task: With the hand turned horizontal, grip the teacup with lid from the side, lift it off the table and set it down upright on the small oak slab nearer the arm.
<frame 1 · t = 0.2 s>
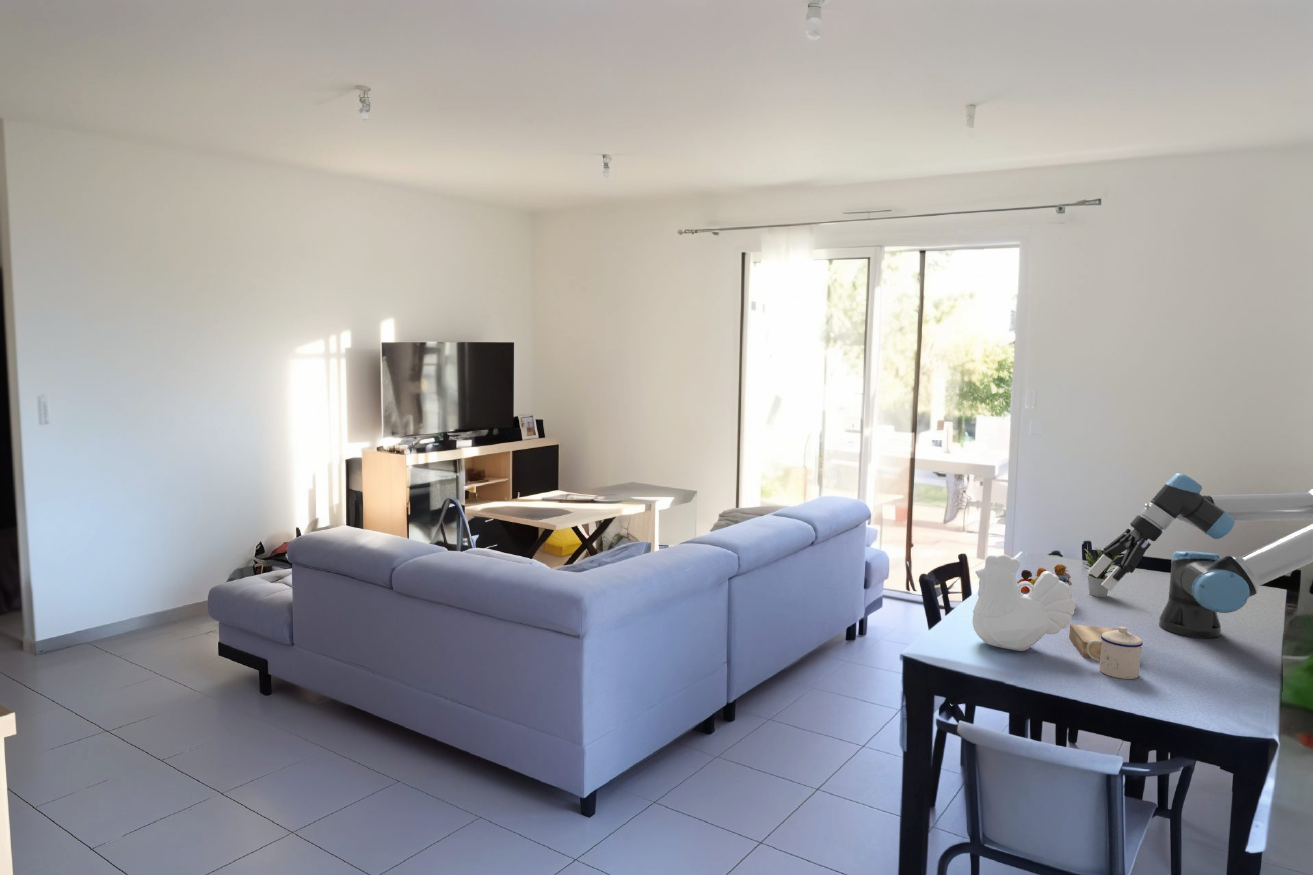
hand: (1098, 580, 240), 15 cm above the table, tool tilted 35°, fingers open, 13 cm apart
house plant: (1102, 595, 282), on the table
oak slab: (1102, 649, 229), on the table
teacup with lid: (1112, 672, 213), on the table
decorative rooster: (1020, 649, 228), on the table
doll family: (1049, 606, 269), on the table
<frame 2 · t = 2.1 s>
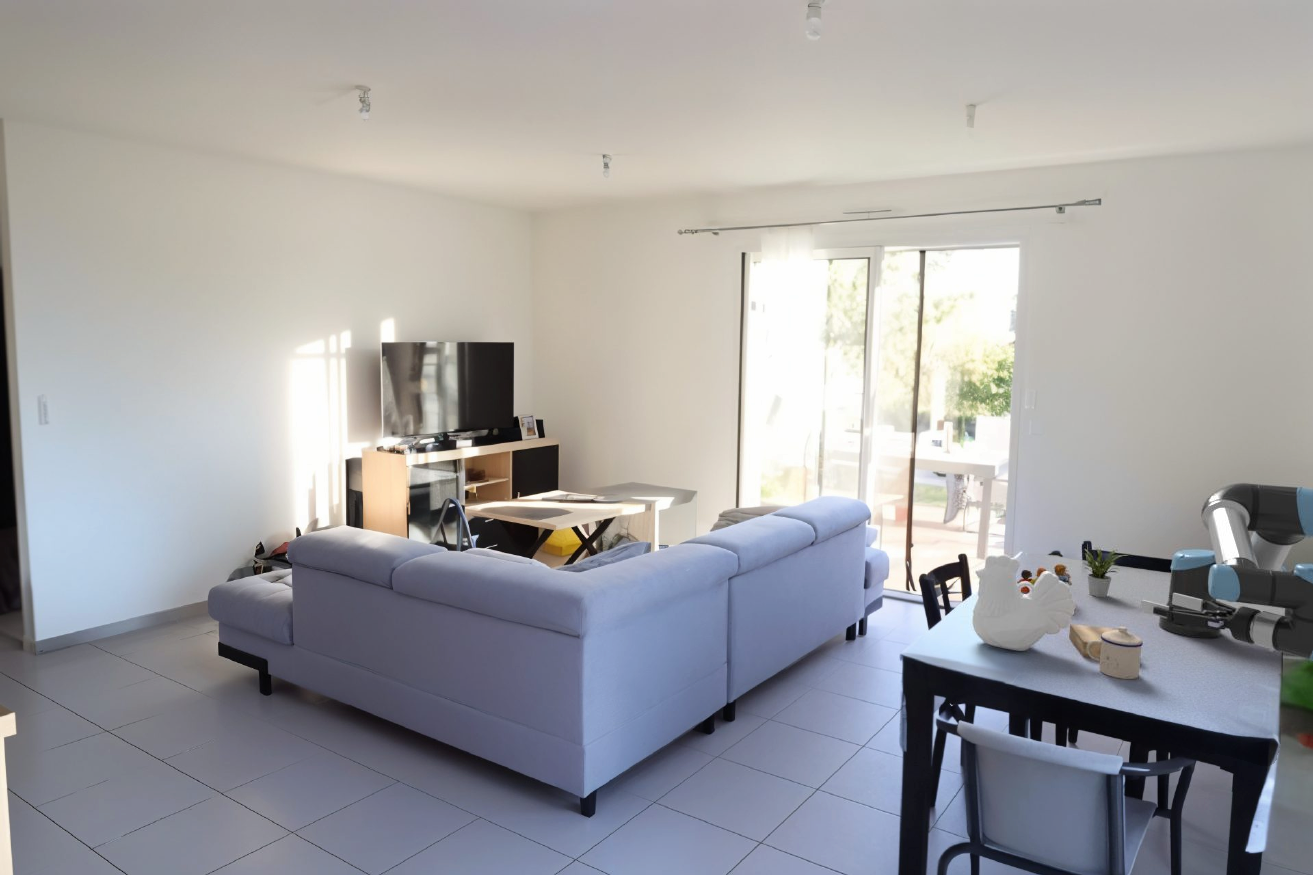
hand: (1157, 601, 203), 20 cm above the table, tool horizontal, fingers open, 13 cm apart
nothing on the table moved.
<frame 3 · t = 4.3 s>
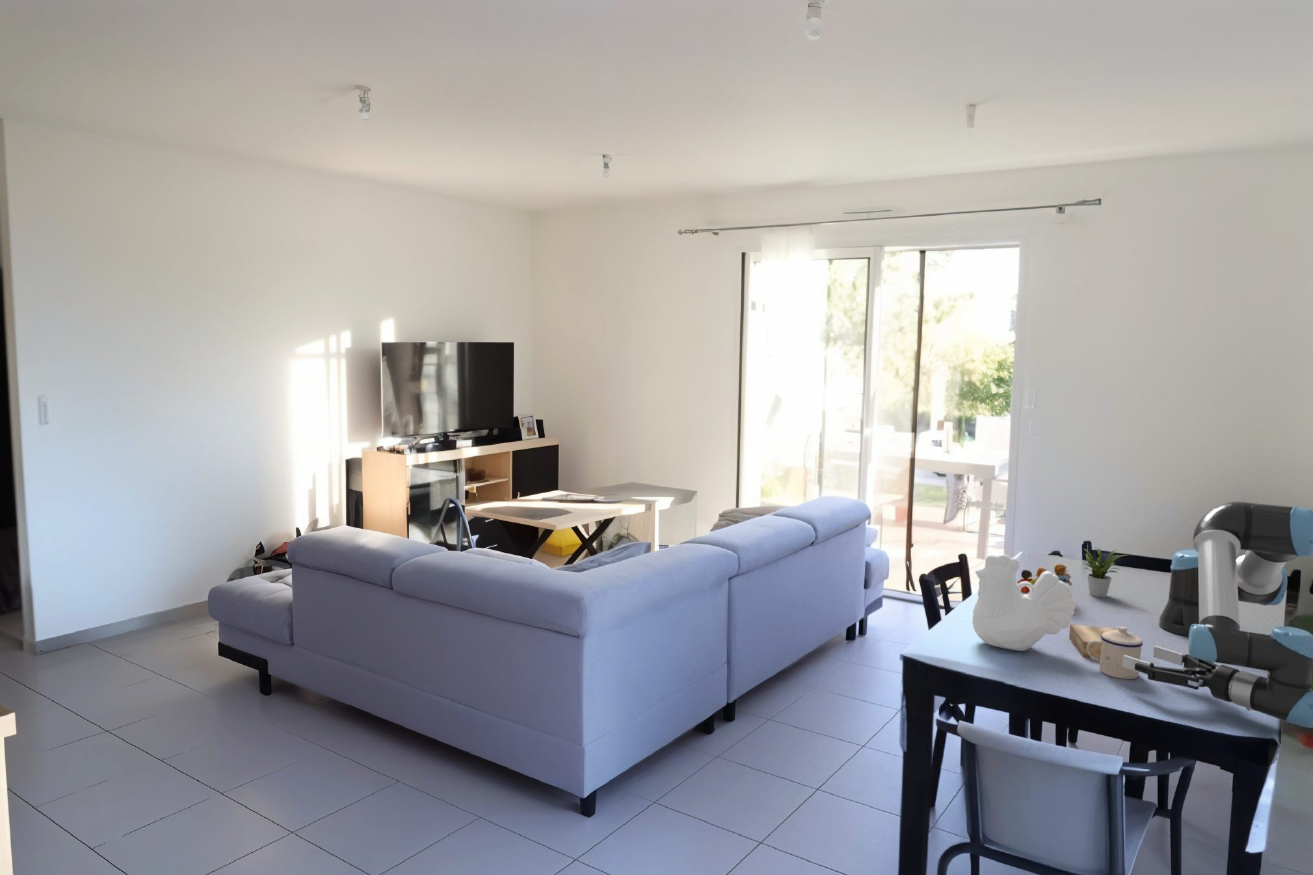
hand: (1139, 655, 206), 6 cm above the table, tool horizontal, fingers open, 13 cm apart
nothing on the table moved.
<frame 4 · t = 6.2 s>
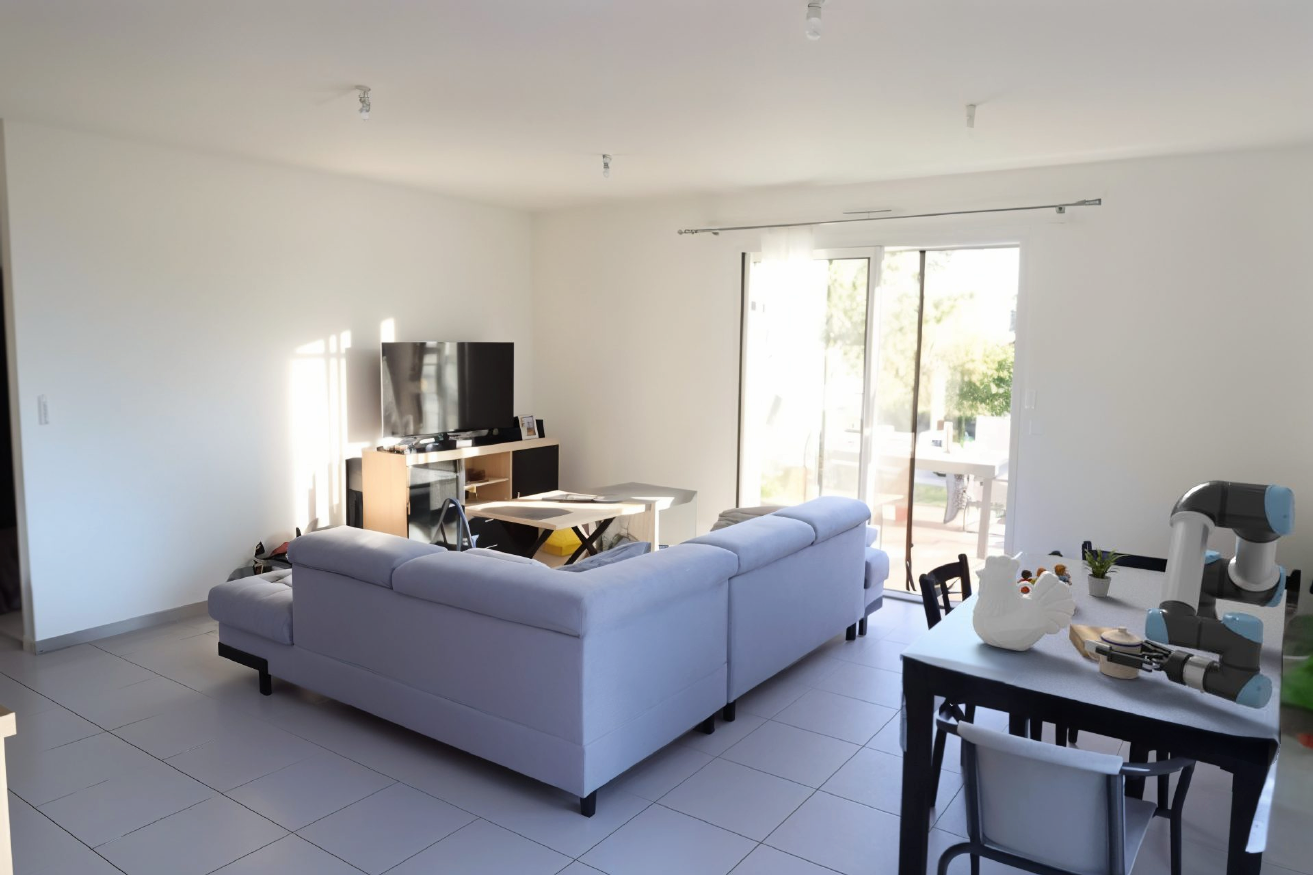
hand: (1097, 640, 216), 7 cm above the table, tool horizontal, fingers open, 10 cm apart
teacup with lid: (1111, 672, 213), on the table, touching gripper
everything else where it was.
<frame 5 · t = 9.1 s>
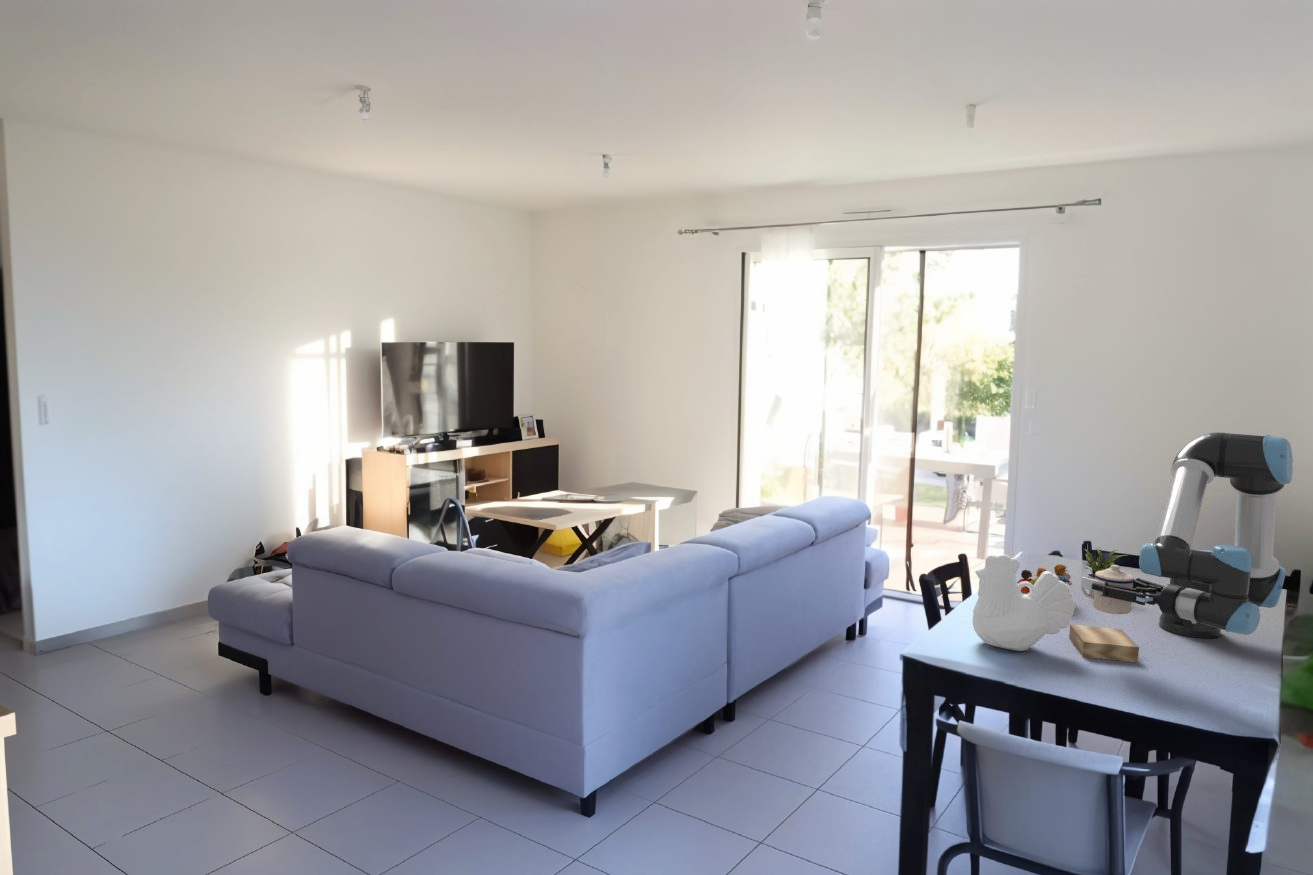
hand: (1092, 579, 225), 20 cm above the table, tool horizontal, fingers closed on teacup with lid, 9 cm apart
teacup with lid: (1105, 609, 222), point 13 cm above the table, touching gripper
everything else where it was.
when the fingers open (12 cm above the table, at t = 11.5 s): teacup with lid drops 1 cm, resting on oak slab.
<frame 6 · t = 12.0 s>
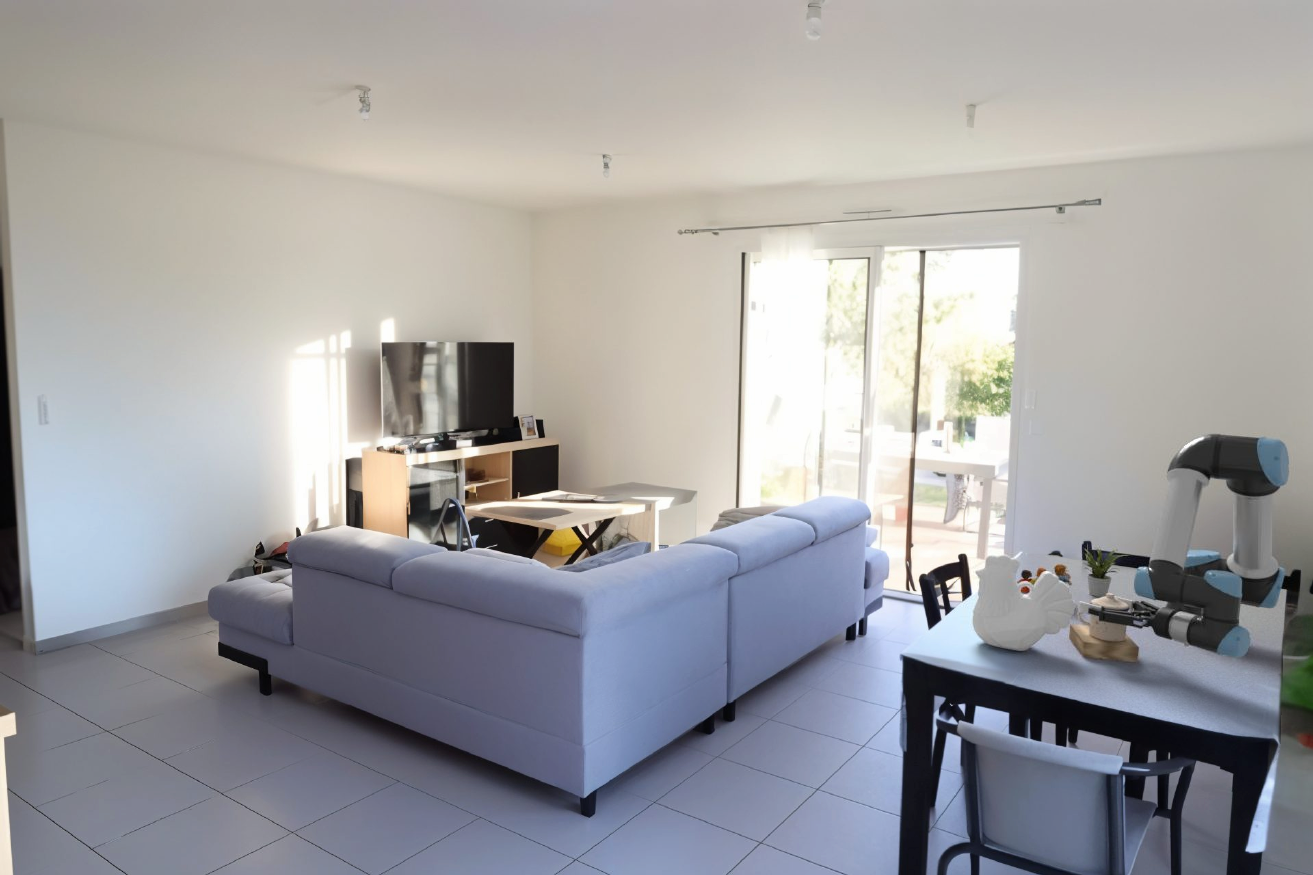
hand: (1093, 602, 230), 12 cm above the table, tool horizontal, fingers open, 13 cm apart
teacup with lid: (1100, 636, 228), point 4 cm above the table, touching oak slab
everything else where it was.
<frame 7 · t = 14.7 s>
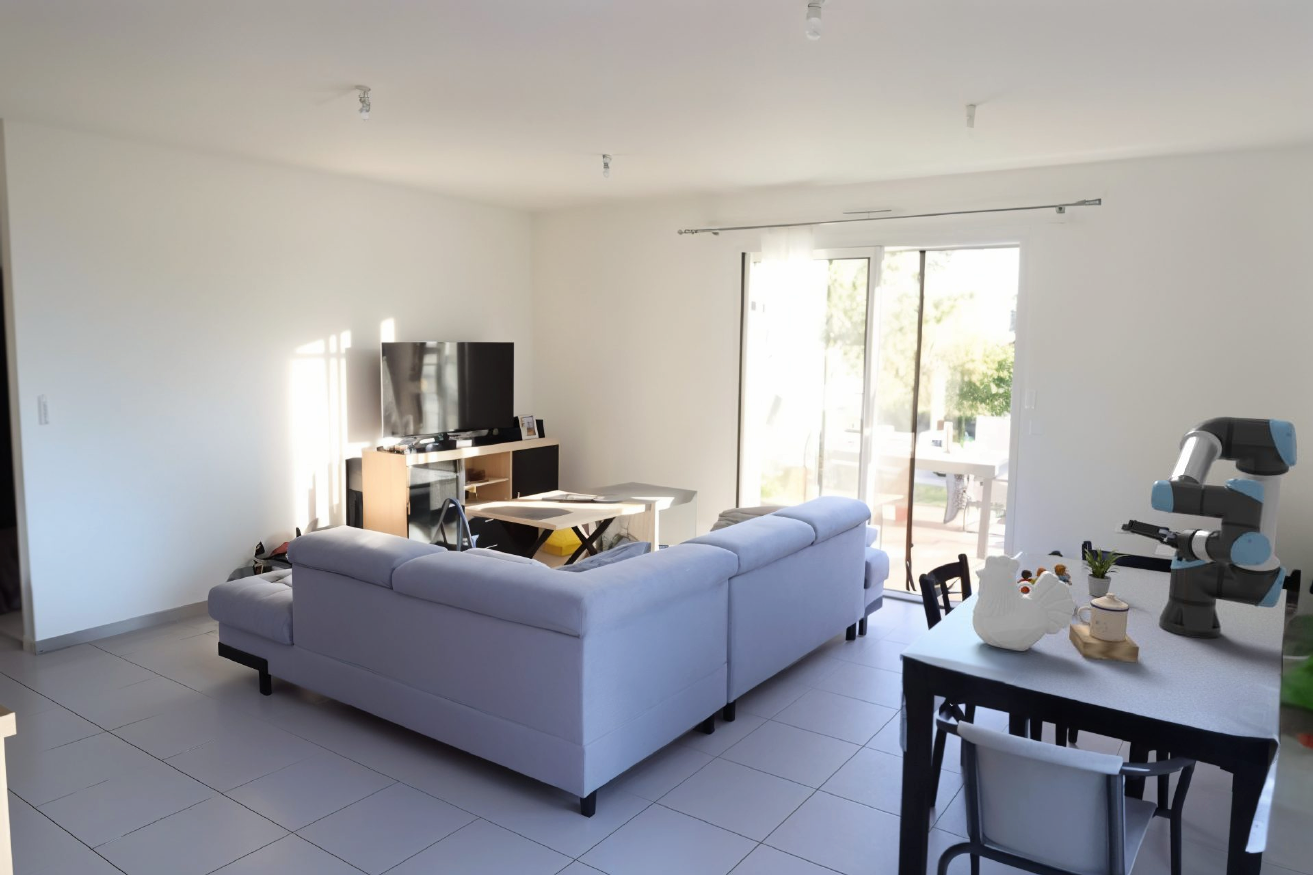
hand: (1137, 539, 226), 30 cm above the table, tool horizontal, fingers open, 13 cm apart
nothing on the table moved.
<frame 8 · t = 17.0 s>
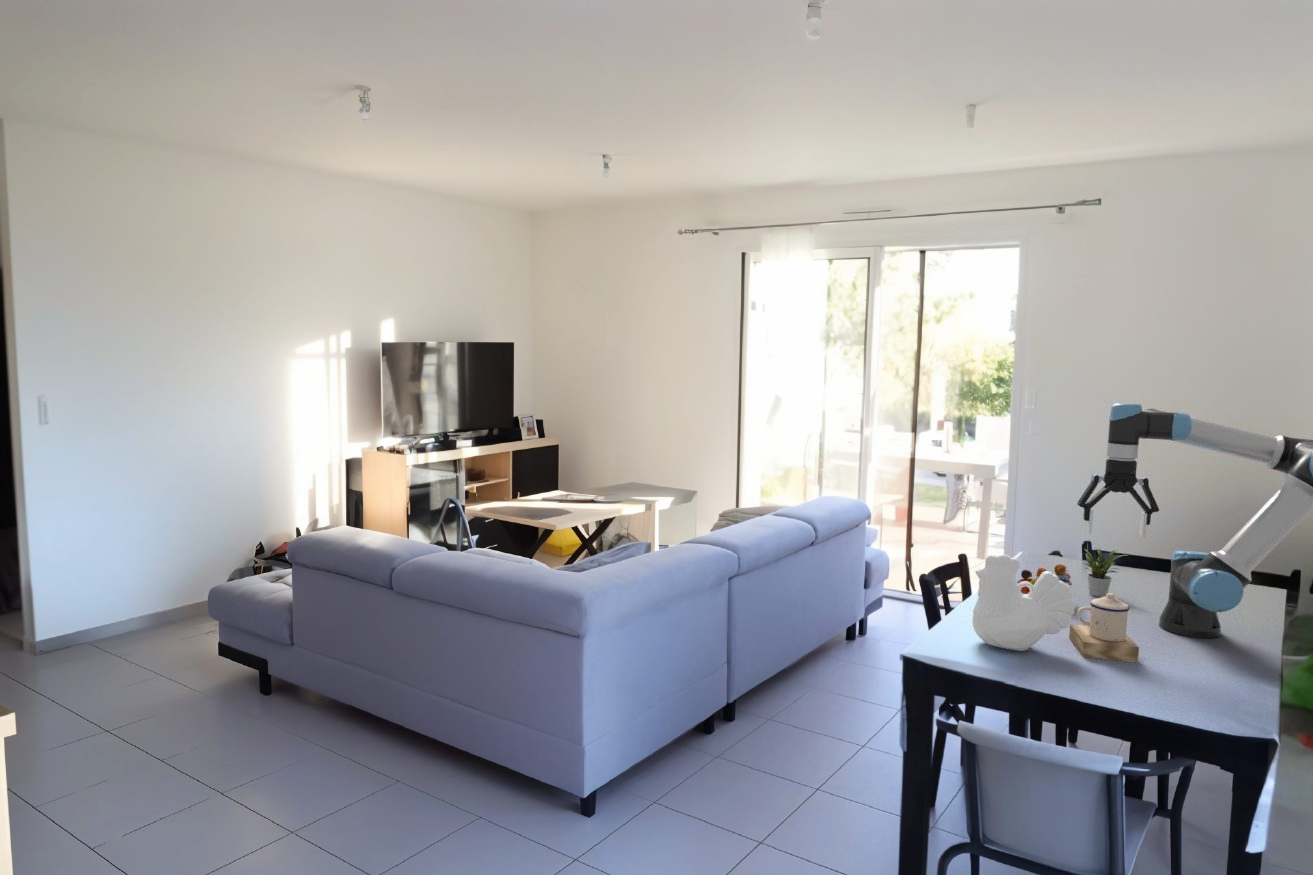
hand: (1115, 534, 239), 29 cm above the table, tool pointing down, fingers open, 13 cm apart
nothing on the table moved.
at the end: teacup with lid 1.1 cm from the oak slab (horizontally); teacup with lid touching oak slab; teacup with lid tilted 0° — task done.
